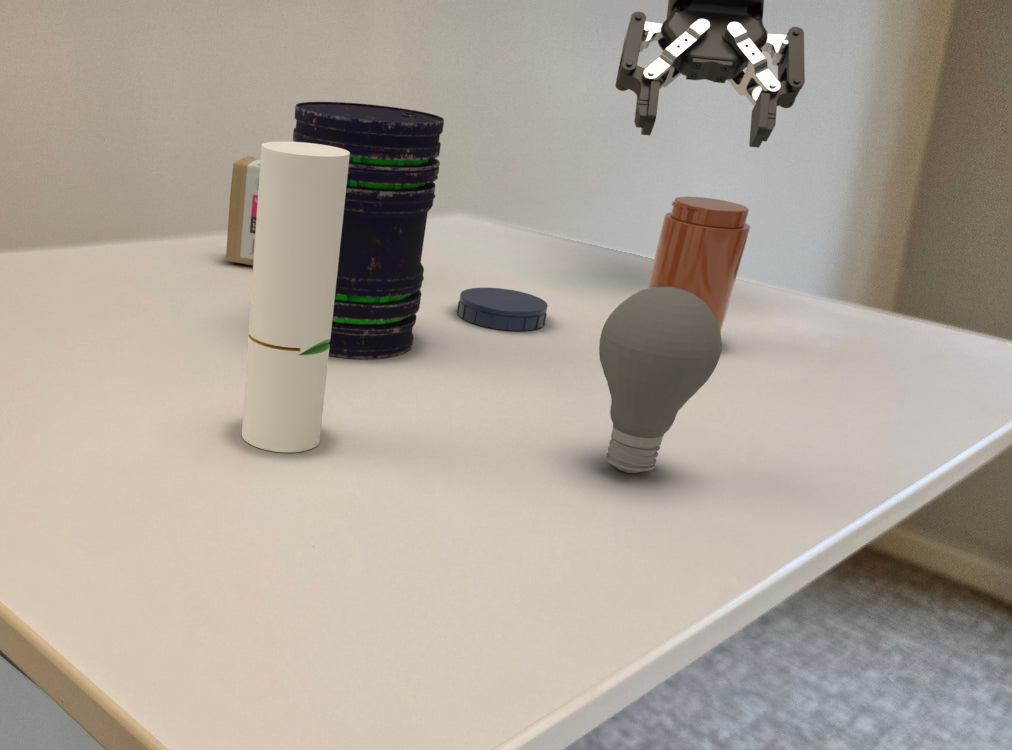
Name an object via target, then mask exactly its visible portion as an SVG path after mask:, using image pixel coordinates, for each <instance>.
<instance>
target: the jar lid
mask: <svg viewBox="0 0 1012 750" xmlns="http://www.w3.org/2000/svg"><path fill="white" fill-rule="evenodd" d="M547 311H548V303H547V301H546V300H544V299H542V298H540V297H538V296H536V295H533V294H531V293H528V292H527V293H526V292H523V291H519V290H513V289H507V288H501V287H472V288H466V289H464V290H462V291H461V292H460V294H459V300H458V302H457V308H456V314H457V315H458V316H459V317H460V318H461V319H463V320H464V321H467V322H468V323H471V324H474V325H476V326H481V327H485V328H489V329H494V330H502V331H512V332H527V331H533V330H538V329H541V328H542V327H544V326H545V324H546V319H547V315H548V313H547Z"/></svg>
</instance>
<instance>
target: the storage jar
mask: <svg viewBox="0 0 1012 750" xmlns="http://www.w3.org/2000/svg"><path fill="white" fill-rule="evenodd" d="M294 119H295V121H296V122H295V127H294V128H293V130H292V131H293V132H292V142H304V143H314V144H322V145H328V146H333V147H338V148H341V149H345V150H347V151H349V152H350V156H349V166H348V176H347V185H346V195H345V204H344V214H343V223H342V233H341V243H340V252H339V262H338V271H337V281H336V291H335V300H334V310H333V319H332V328H331V338H330V342H329V345H330V347H329V357H336V358H343V359H354V360H355V359H357V360H358V359H359V360H365V359H366V360H372V359H373V360H375V359H385V358H392V357H396V356H400V355H403V354H405V353H407V352H409V351H410V350H411V349H412V348H413V345H414V344H413V343H414V334H413V330H414V326H415V325H416V324H417V323H416V322H417V313H418V312H419V310H420V308H421V307H420V305H421V298H422V291H421V288H422V287H423V281H424V280H425V277H424V273H425V272H424V271H425V269H424V266H423V264H422V257H423V249H424V241H425V235H426V229H427V228H426V227H427V220H428V214H429V211H430V210H431V209H432V208H433V206H434V200H435V198H436V194H435V191H436V183H435V182H436V181H437V180H438V179H439V178H438V177H439V176H438V175H439V172H440V164H441V162H440V160H438V159H437V158H438V157H440V152H441V146H442V144H441V141H440V138H441V135H442V133H443V131H444V125H445V119H444V118H443V117H442V116H441V115H436V114H433V113H429V112H426V111H425V112H424V111H419V110H416V109H415V110H414V109H410V108H409V109H408V108H402V107H395V106H387V105H378V104H368V103H357V102H345V101H344V102H341V101H305V102H304V101H303V102H298V103H296V104H295V106H294Z"/></svg>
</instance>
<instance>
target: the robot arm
mask: <svg viewBox="0 0 1012 750" xmlns="http://www.w3.org/2000/svg"><path fill="white" fill-rule="evenodd" d="M764 8H765V0H668V1H667V9H666V19H665V20H664V21H663V22H661V23H660V22H652V21H647V16H646V14H645V13H644V12H642V11H634V12H633V13H632V14H631V16H630V19H629V23H628V26H627V28H626V29H627V30H626V32H625V36H624V40H623V44H622V49H621V55H620V58H619V59H620V60H619V65H618V70H617V75H616V80H615V88H616V89H617V90H618V91H621V92H625V91H628V90H629V91H632V92H633V93H635V96H636V103H635V113H634V121H633V123H634V124H635V127H636V128H640V130H641V131H640V135H641V136H651V134H652V132H653V129H654V126H655V123H656V120H657V113H658V104H659V96H660V90H661V89H662V88H667V87H668V86H669V85H670V84H671V83H673V82H674V81H675V80H676V79H677V78H678V77H679V76H681V75H682V76H685V80H689V81H701V80H707V81H710V82H712V83H719V84H726V81H727V82H729V84H730V85H731V87H732V88H733V89H734V90H735V91H736V92H737V94H738V95H739V96H745V97H746V98H747V99H748V101H749V102H750V104H751V105H752V107H753V108H752V110H751V118H750V131H749V142H748V143H749V144H748V146H749V147H750V148H757V149H759V148H760V147H761V145H762V143H763V142H768V140H769V138H770V136H771V134H772V132H773V130H774V129H775V127H776V124H777V123H776V122H777V112H778V111H777V108H778V107H781V108H783V109H789V108H791V107H793V106H794V104H795V102H796V99H797V97H798V95H799V93H800V91H801V90H802V89H803V87H804V85H805V83H806V82H805V81H806V78H805V77H806V75H805V32H804V30H803V29H802V27H800V26H792V27H790V28H789V29H788V31H787V33H786V34H785V33H784V34H783V33H782V34H780V33H768V31H767V29H766V27H765V26H764V22H763V19H764ZM655 41H657V44H658V46H659V48H660V49H661V51H662V52H661V54H660V55H659V56H658V57H657V58H656V59H655V60H654V61H653V62H652V63H650V64H649V65H648V66H646V67H645V68H644V67H642V66H639V65H638V63H639V57H640V53H642V52H643V51H644V50H646V49H648V48H649V46H650V44H651V43H652V42H655ZM763 52H766V53H768V54H769V56H770V59H771V61H772V62H771V63H772V65H773V66H774V67H776V66H777V77H776V76H775V75H774V73H773V72H772V71H771V70H770V69H769V67H768V59H767V58H766V56H765V55H764V54H763ZM745 69H746V70H745ZM744 70H745V71H744Z"/></svg>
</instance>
